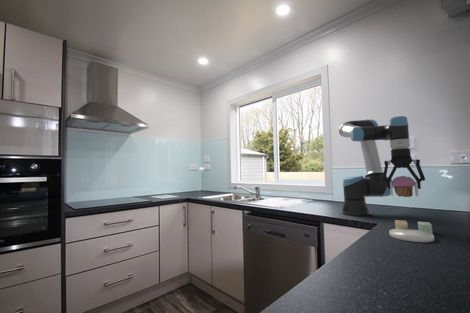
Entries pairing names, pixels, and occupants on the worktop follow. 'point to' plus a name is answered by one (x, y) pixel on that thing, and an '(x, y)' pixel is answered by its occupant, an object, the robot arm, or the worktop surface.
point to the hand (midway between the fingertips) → (404, 195)
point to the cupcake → (403, 186)
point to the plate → (411, 235)
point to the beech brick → (401, 224)
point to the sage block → (425, 227)
